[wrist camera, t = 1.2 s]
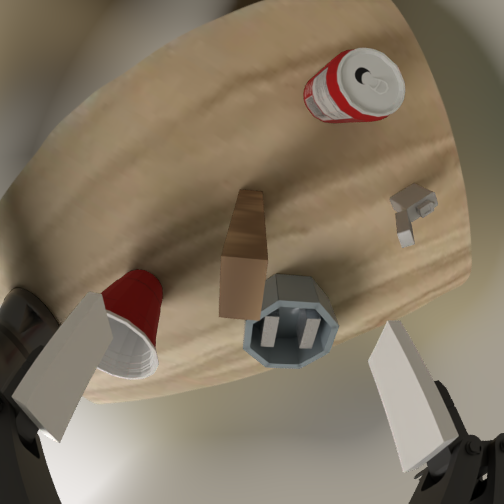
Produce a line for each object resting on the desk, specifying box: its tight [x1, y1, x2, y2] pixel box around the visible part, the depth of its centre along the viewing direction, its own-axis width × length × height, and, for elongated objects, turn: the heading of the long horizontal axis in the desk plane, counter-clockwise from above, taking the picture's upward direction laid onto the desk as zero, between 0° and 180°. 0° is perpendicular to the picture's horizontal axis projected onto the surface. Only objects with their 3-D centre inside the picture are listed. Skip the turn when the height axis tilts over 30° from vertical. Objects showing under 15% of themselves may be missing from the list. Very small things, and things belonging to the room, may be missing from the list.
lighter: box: [390, 183, 438, 248], centre depth 25 cm, size 7×2×8 cm, turn 123°
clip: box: [260, 308, 321, 349], centre depth 33 cm, size 6×5×4 cm
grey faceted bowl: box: [243, 274, 339, 369], centre depth 32 cm, size 11×11×6 cm
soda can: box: [303, 48, 405, 123], centre depth 19 cm, size 6×6×12 cm
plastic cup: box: [97, 269, 163, 379], centre depth 29 cm, size 11×11×12 cm
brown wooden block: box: [219, 189, 268, 321], centre depth 22 cm, size 2×4×16 cm, turn 175°
